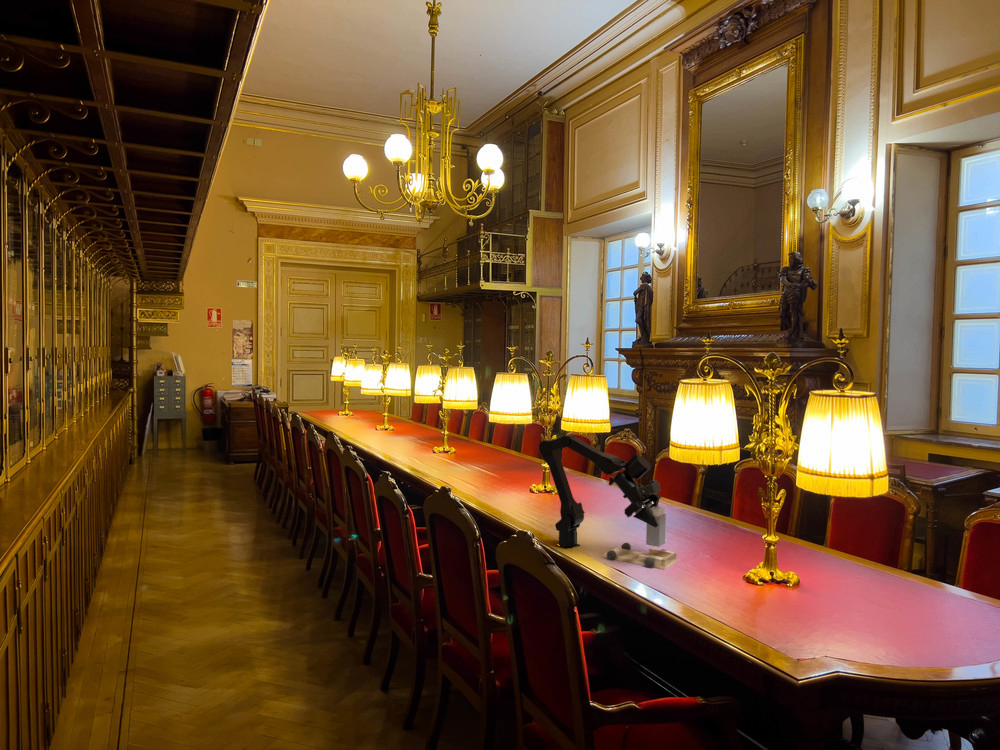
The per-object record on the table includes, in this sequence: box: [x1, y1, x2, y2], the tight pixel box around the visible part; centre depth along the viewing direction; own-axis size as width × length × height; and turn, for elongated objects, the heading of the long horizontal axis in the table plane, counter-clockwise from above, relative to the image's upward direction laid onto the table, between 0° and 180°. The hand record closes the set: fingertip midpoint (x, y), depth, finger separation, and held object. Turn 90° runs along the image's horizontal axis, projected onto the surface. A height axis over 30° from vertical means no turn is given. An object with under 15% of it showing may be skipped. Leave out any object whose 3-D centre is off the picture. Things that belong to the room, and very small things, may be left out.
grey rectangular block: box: [645, 506, 666, 548], centre depth 225 cm, size 4×5×12 cm
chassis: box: [602, 542, 677, 570], centre depth 229 cm, size 22×13×3 cm, turn 54°
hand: (659, 525), depth 224 cm, fingers closed on grey rectangular block, 5 cm apart
